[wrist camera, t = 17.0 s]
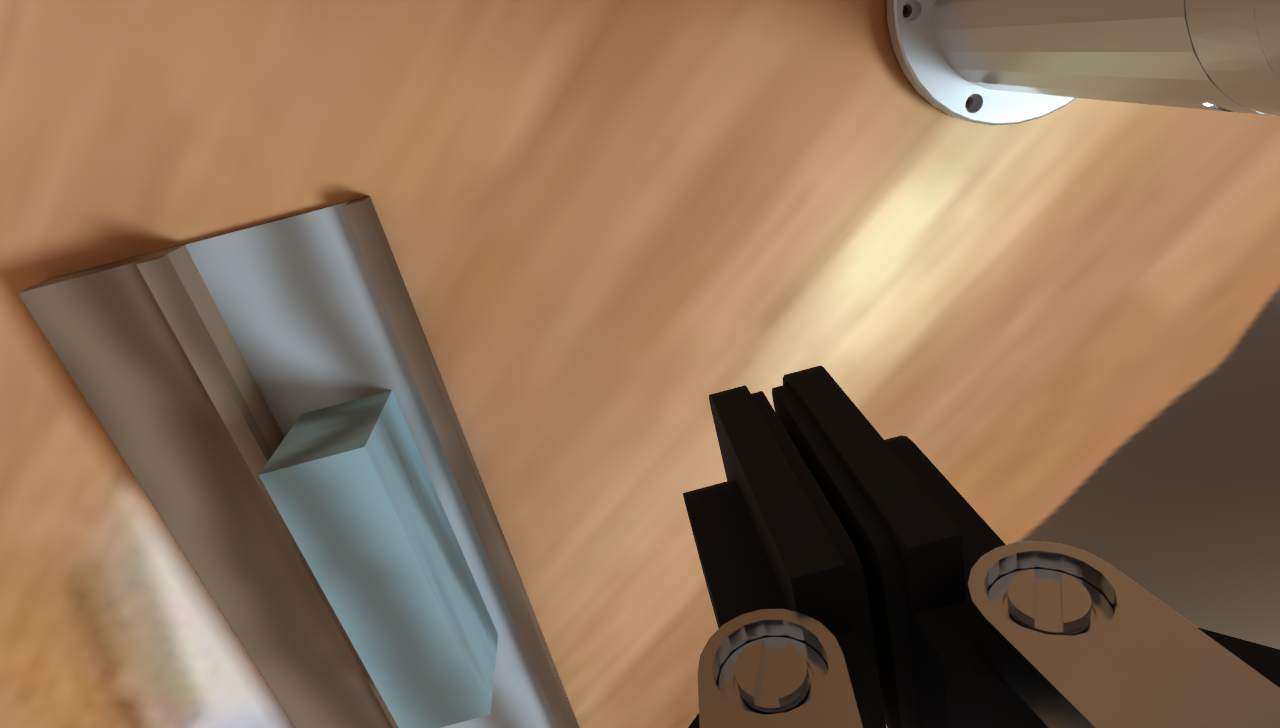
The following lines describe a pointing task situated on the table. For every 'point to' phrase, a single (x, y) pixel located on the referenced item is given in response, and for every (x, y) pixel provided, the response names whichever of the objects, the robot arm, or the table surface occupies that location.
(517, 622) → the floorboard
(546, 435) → the table surface
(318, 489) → the teal rectangular block
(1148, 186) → the table surface
